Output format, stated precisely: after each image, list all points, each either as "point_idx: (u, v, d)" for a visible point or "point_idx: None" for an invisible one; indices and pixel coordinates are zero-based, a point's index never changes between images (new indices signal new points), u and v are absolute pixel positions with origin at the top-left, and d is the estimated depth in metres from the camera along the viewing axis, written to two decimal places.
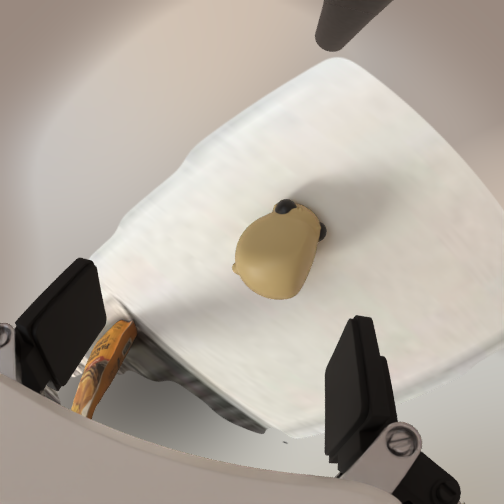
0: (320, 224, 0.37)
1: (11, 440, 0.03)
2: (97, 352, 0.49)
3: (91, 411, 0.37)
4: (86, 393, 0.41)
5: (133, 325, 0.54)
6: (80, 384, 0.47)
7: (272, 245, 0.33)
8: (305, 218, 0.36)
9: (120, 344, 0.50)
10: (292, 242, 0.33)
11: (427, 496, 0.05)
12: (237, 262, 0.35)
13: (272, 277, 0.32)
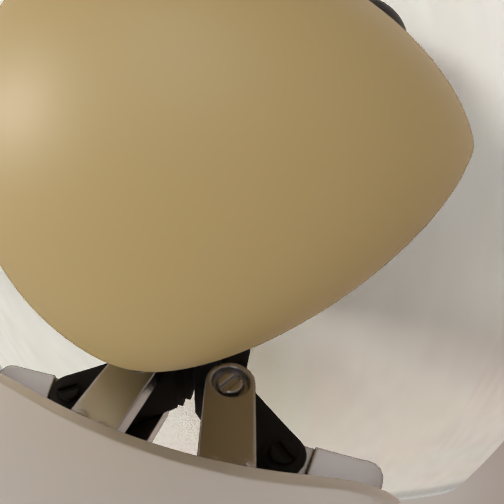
0: None
1: (11, 440, 0.03)
2: None
3: None
4: None
5: None
6: None
7: None
8: None
9: None
10: (437, 67, 0.03)
11: (258, 450, 0.06)
12: None
13: (36, 151, 0.02)
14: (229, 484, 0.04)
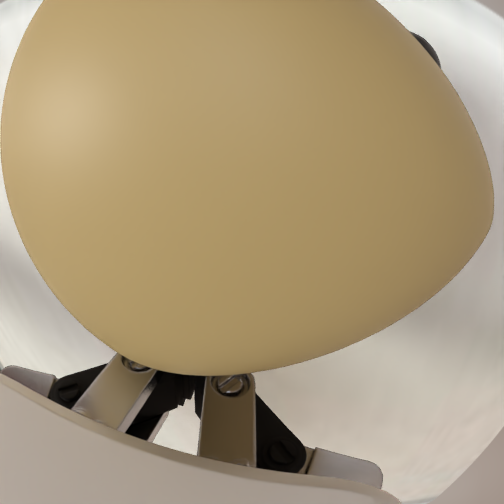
0: None
1: (11, 440, 0.03)
2: None
3: None
4: None
5: None
6: None
7: None
8: None
9: None
10: None
11: (258, 450, 0.06)
12: None
13: (145, 176, 0.02)
14: (229, 484, 0.04)
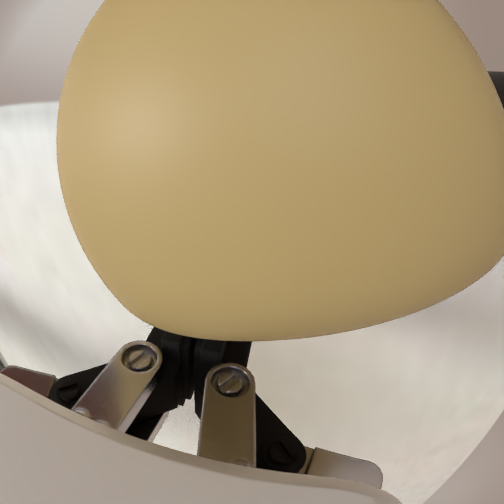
0: None
1: (11, 440, 0.03)
2: None
3: None
4: None
5: None
6: None
7: None
8: None
9: None
10: None
11: (257, 450, 0.06)
12: None
13: (322, 71, 0.02)
14: (229, 484, 0.04)
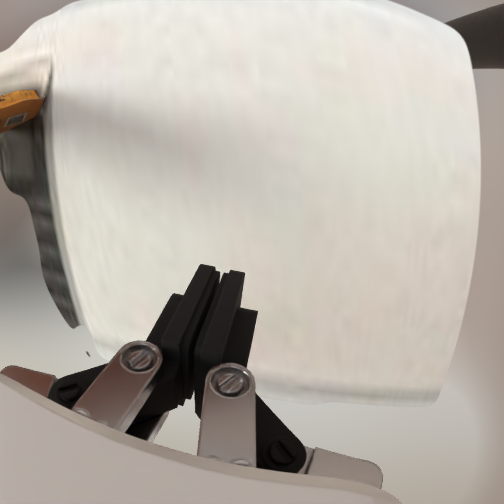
0: None
1: (11, 440, 0.03)
2: None
3: None
4: None
5: (41, 102, 0.32)
6: None
7: None
8: None
9: (13, 107, 0.27)
10: None
11: (258, 450, 0.06)
12: None
13: None
14: (229, 484, 0.04)
